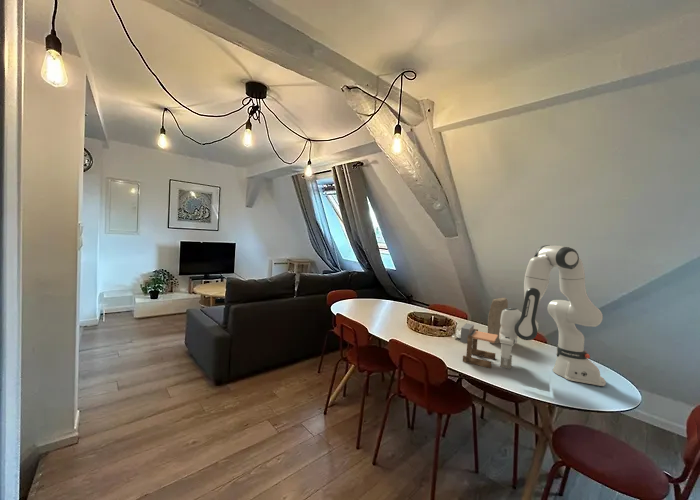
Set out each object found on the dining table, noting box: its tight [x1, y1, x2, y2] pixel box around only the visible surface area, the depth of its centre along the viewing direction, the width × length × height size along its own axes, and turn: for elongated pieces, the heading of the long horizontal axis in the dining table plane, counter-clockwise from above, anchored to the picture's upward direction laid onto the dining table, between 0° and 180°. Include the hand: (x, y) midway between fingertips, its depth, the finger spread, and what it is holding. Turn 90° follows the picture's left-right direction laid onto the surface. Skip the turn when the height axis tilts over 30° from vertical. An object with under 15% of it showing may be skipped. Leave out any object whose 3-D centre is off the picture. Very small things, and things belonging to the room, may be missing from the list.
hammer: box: [459, 323, 498, 344], centre depth 177 cm, size 18×14×8 cm
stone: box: [499, 354, 513, 370], centre depth 170 cm, size 5×5×6 cm
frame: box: [462, 328, 496, 369], centre depth 177 cm, size 14×18×15 cm
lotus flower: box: [451, 329, 473, 342], centre depth 211 cm, size 14×15×9 cm
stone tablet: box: [487, 297, 509, 345], centre depth 212 cm, size 20×8×30 cm, turn 130°
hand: (506, 362), depth 169 cm, fingers open, 8 cm apart
